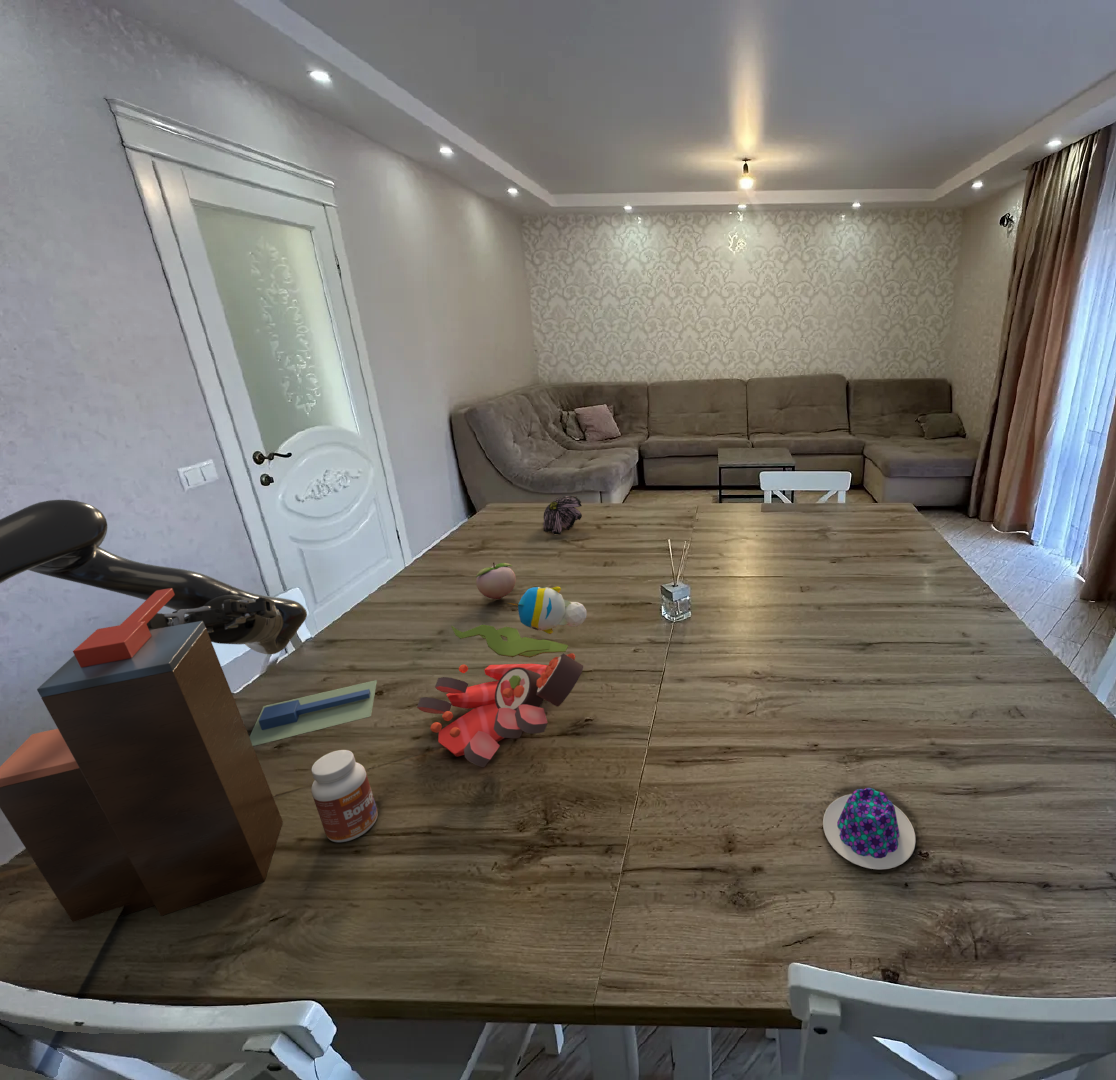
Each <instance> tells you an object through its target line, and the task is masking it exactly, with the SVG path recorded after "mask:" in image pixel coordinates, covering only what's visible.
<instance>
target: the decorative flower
mask: <svg viewBox="0 0 1116 1080" xmlns="http://www.w3.org/2000/svg"><path fill="white" fill-rule="evenodd" d="M580 507H583V505H582V501H581V500H580V499H579V498H578V496H577V495H565V496H561V497H557V498H555V499H554V500H552V501H551V502H550V503H549V504H548V505H547V506H546V508H545V509H544V511H543V524H542V525H543V532H545V533H549V532H550V533H552V534H553V535H554V534H560V535H561V534H562V533H563V528H564V529H566V530H567V531H570V529H571V528H573V526H574V524H575V522H576V521H580V520H581V519H582V518H583V514H582V512H580V510H579V509H578V508H580Z"/></svg>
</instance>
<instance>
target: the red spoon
mask: <svg viewBox="0 0 1116 1080" xmlns="http://www.w3.org/2000/svg"><path fill="white" fill-rule="evenodd" d="M174 595H175V594H174V592H173V589H172V588H169V589H163V590H157V591H155V592H154V593H153V594H152V595H151V596H150V597H149V598H148V599H147V600H144V601H143V603H141V604H140V606H138V607H137V608H136V609H135V610H134V611H133V612H131V614H129V616H128V617H126V619H125V620H124V621H122V622H121V623H120V624H119V625H111V626H108V627H102V628H101V627H100V628H97V629H96V630H95V631H93V632H92V634H90V635H89V636H87V638H86V639H84V641H83V642H81V643H80V644H79V645H78V646H77V647H76V648H74V649H73V650H72V653H73V656H74V655H75V657H76V659H77V661H78V663H79V665H80V667H81V668H82V667H87V666H92V665H98V664H103V663H108V662H113V661H119V660H124V659H129V658H132V657H133V656H134V655H135V654H136V653H137V652H138V650H139V649H140V648H141V647H142V646H143V645H144V644H145V643H146V642H147V641H148V640H149V638H150V637H151V633H150V631H149V629H148V627H147V623H148V622H149V621H150V620H151V619H152V618H153V617H154V616H155V615H156V614H157V613H159V612H160V610H162V609H163V608H164V607H165V606H164V605H165V604H166V603H167V602H168V601H169V600H170V599H171V598H172V597H173V596H174Z"/></svg>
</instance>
